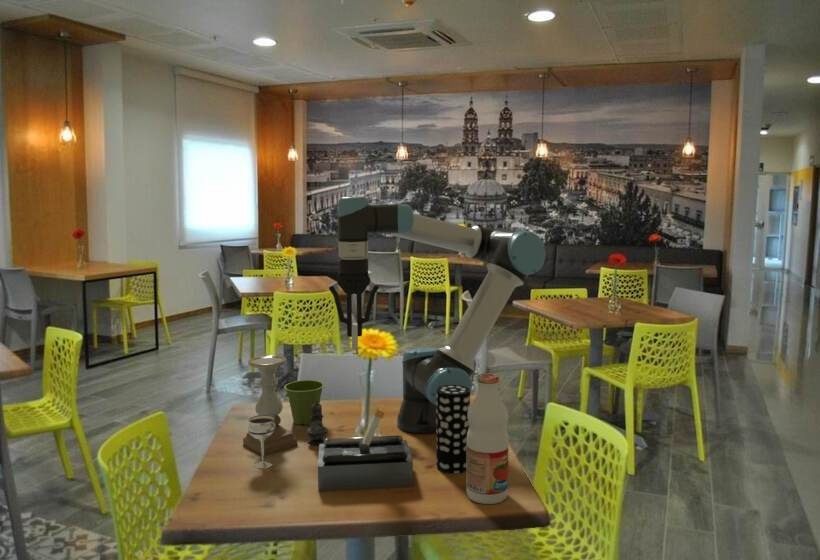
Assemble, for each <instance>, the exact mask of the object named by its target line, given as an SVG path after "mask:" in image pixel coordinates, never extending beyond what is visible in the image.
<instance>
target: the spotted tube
mask: <svg viewBox="0 0 820 560" xmlns="http://www.w3.org/2000/svg"><path fill="white" fill-rule="evenodd" d="M470 405H471V391H470V389H469V388H468V387H465V386H461V385H444V386H440V387H438V388H437V389H436V432H435V433H436V437H435V438H436V441H435V442H436V445H435V448H436V450H435V451H436V453H435V454H436V457H435V458H436V460H435V461H436V464H435V465H436V469H437V470H438V471H441V472H442V473H445V474H462V473H466V450H467V447H466V441H467V432H468V429H469V422H468V418H467V413H468V408H469V406H470Z"/></svg>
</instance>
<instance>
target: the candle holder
mask: <svg viewBox="0 0 820 560" xmlns="http://www.w3.org/2000/svg"><path fill="white" fill-rule="evenodd" d="M247 364H248V366H250V367H252V368H256V369H257V370H258V371H259V373H260V375H261V378H260V380H259V382H258V383H257V384H258V386H260V388H261V395H260V397H259V399H258V400H257V402H256V404H255V408H254V409H255V413H256V415H271V416H274V417H275V420H274V422H275V431H274V433H273V434H272V435H271V436H270V437H269V438H266V440H265V441H264V456H267V455H270V454H271V455H272V454H274V453H277V452H280V451H283V450H287V449H289V448H293V447H296V446H297V445H298V438H297V437H295V436H294V433H293V432H292V431H290V430H288V429H287V428H284V427H283V426H282V425H280V424H281V421H282V418H281V416H279V415H280V414H281V413H282V411H283V403H282V401H281V399H280V398H279V397H278V395H277V393H276V391H275V390H276V387H277V385H278V384H279V382H278V380H277V378H276V376H275V375H276V374H275V373H276V371H277V370H278V368H279V367H282V366H284V365H286V364H287V358H286V357H284V356H282V355H260V356H255V357H252V358H250V359H248V361H247ZM242 443H243V444H242V446H244V447H246V448H248V449H250V450H252V451H253V452H255V453H257V454H259V455H261V456H262V451H261V441H259V439H256V438H254V437H253V436H251V435H250V433H249V431H248V432H246V436H245V437H243V438H242Z"/></svg>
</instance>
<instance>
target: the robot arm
mask: <svg viewBox="0 0 820 560" xmlns="http://www.w3.org/2000/svg"><path fill="white" fill-rule="evenodd" d="M337 201H338V203H337V215H336V216H337V230H338V232H337V233H338V234H337V235H338V244H337V245H338V257H339V259H338V276H337V279H336V282H334V283H333V284H330V285H329V286H328V290H329V291H330V293H331V294H332V296H333V299H334V303H335V306H336V311H337V314H338V317H339V321H340V323H344V324H346V335H347V337H349V338H350V337H351V351H358V350H359V344H358V343H359V337H362V335H363V324H364V323H368V322H369V320H370V317H371V312H372V308H373V303H374V299H375V295H376V294H377V292H378V290H379V288H380V287H379V284H378V283H374V282H373V281H371V277H370V276H369V259H368V258H367V257H368V256H369V235H375V234H377V235H379V234H381V235H382V234H383V235H388V236H393V237H397V238H401V239H406V240H409V241H410V240H411V241H414V242H418V243H423V244H426V245H429V246H430V245H431V246H434V247H438V248H441V249H442V248H443V249H446V250H450V251H454V252H459V253H463V254H464V255H465V257H467V258H470V259H473V260H476V261H480V262H482V263H485V264H486V269H487V273H486V275H485V277H484V278H483V280H482V282H481V284H480V286H479V288H478V289H477V291H476V292H475V295H474V296H473V298H472V300H471V302H469V305H468V307H467V309H466V310H465V311H464V314H463V316H462V317H461V319H460V320H459V323H458V324H457V326H456V328H455V329H454V331H453V332H452V335H451V337H450V338H449V340H448V342H447V343H446V345H445V346H442V347H418V348H417V347H415V348H410V349H406V350H404V351H403V354H402V361H401V362H402V402H401V405H400V407H399V413H398V415H397V416H396V417H397V418H396V419H397V424H396V425H397V427H398V428H399V430H402V431H404V432H407V433H412V434H434V433H436V389H437V388H438V387H440V386H444V385H461V386H465V387H468V388H469V389H470V392H471V390H472V384H471V383H472V379H471V377H472V375H473V373H474V371H475V367H474V360H475V358H476V357H477V355H478V354H479V352H480V350H481V348H482V346H483V344H484V342H485V341H486V339H487V337H488V336H489V334H490V332H491V330H492V329H493V327H494V326H495V324H496V322H497V320H498V318H499V316H500V315H501V312H502V311H503V310H504V308H505V306H506V304H507V303H508V300H509V299H510V297H511V295H512V294H513V292H514V291H515V289H516V288H518V287H520V286H523V285H524V283H525V282H526V280H527V278H528V277H529V275H533V274H536V273H537V272H538V271H540V270H541V269H542V267H543V266H544V264H545V261H546V254H547V253H546V248H545V244H544V242H543V240H542V239H541V237H540V236H539V235H538V234H536V233H534V232H532V231H528V230H525V229H510V228H509V229H508V228H490V227H483V226H479V225H473V226H471V227H468V226H465V225H460V224H458V223H452V222H448V221H445V220H441V219H437V218H433V217H429V216H427V215H426V216H425V215H422V214H417V213H414V212H413V209H412V207H411V205H409V204H406V203H403V204H402V203H394V204H393V203H374V202H370V203H369V202H368V198H367V197H366V196H342V197H340V198H339V199H338V200H337ZM339 287H340V288H341V290H342V291H343V292H344V294H346V316H345V314H344V311H343V307H342V303H341V300H340V296H339V292H338V291H339V289H340V288H339ZM367 288H368V290H369V294H368V298H367V302H366V305H365V311H364V315H363V312H362V310H363V307H362V305H363V302H362V300H363V299H362V298H363V296H362V294H363V293H364V292H365V290H367ZM353 295H356V322H353V318H352V317H353V315H352V314H353V312H352V304H353V303H352V302H353V300H352V296H353Z"/></svg>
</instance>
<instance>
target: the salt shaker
mask: <svg viewBox="0 0 820 560" xmlns="http://www.w3.org/2000/svg"><path fill="white" fill-rule="evenodd" d="M322 409H323V408H322V404H321V403H320V404H319V403H317V400H316V403H315V404H313V405H312V406H311V412H312V415H311V416H310V418H311V423H312V424H310V426H309V427H308V428H307V429H306V433H307V436H308V438H309V440H308V441H307V445H309V444H310V445H309V446H312V445H314V447H319V444H324V440H325V439H326V438H325V437H326V436H327V433H328V430H329V429H328V427H326V426H324V424H323V418H324V415H323V410H322ZM315 445H316V446H315Z"/></svg>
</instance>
